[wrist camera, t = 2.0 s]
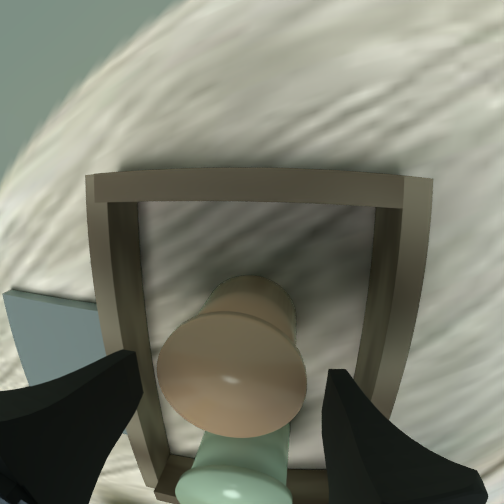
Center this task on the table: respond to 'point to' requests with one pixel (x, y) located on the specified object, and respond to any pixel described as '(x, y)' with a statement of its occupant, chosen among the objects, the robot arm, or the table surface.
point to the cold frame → (258, 190)
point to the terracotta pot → (236, 361)
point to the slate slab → (53, 334)
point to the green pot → (238, 471)
